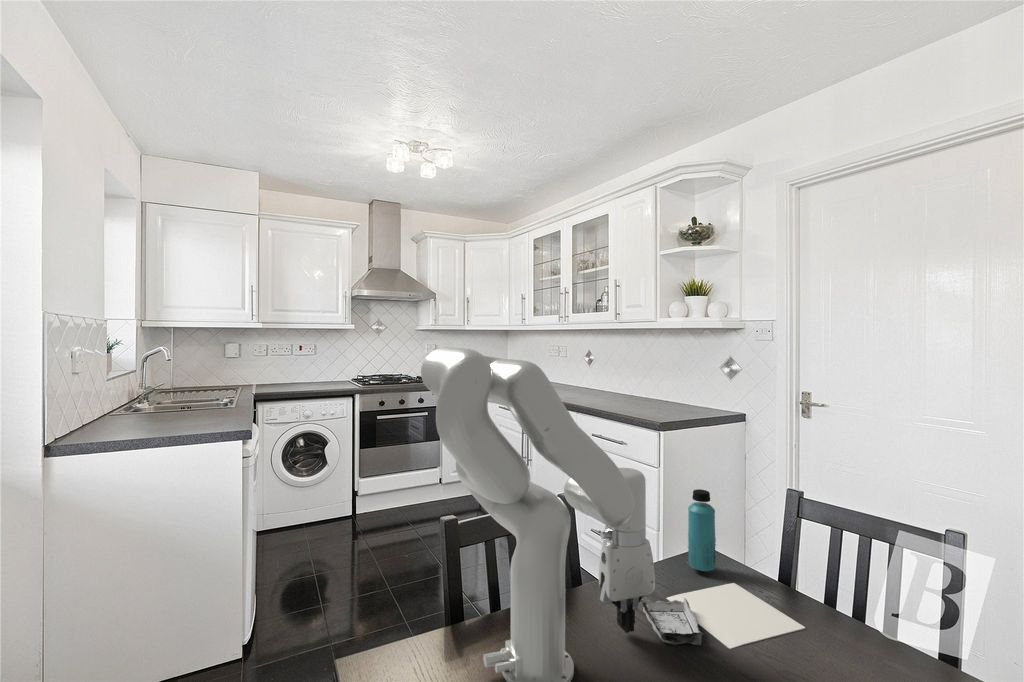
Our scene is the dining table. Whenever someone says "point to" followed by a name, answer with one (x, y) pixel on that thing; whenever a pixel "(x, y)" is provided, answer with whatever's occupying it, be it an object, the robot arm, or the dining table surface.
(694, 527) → the beverage bottle
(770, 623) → the mat
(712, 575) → the dining table surface
